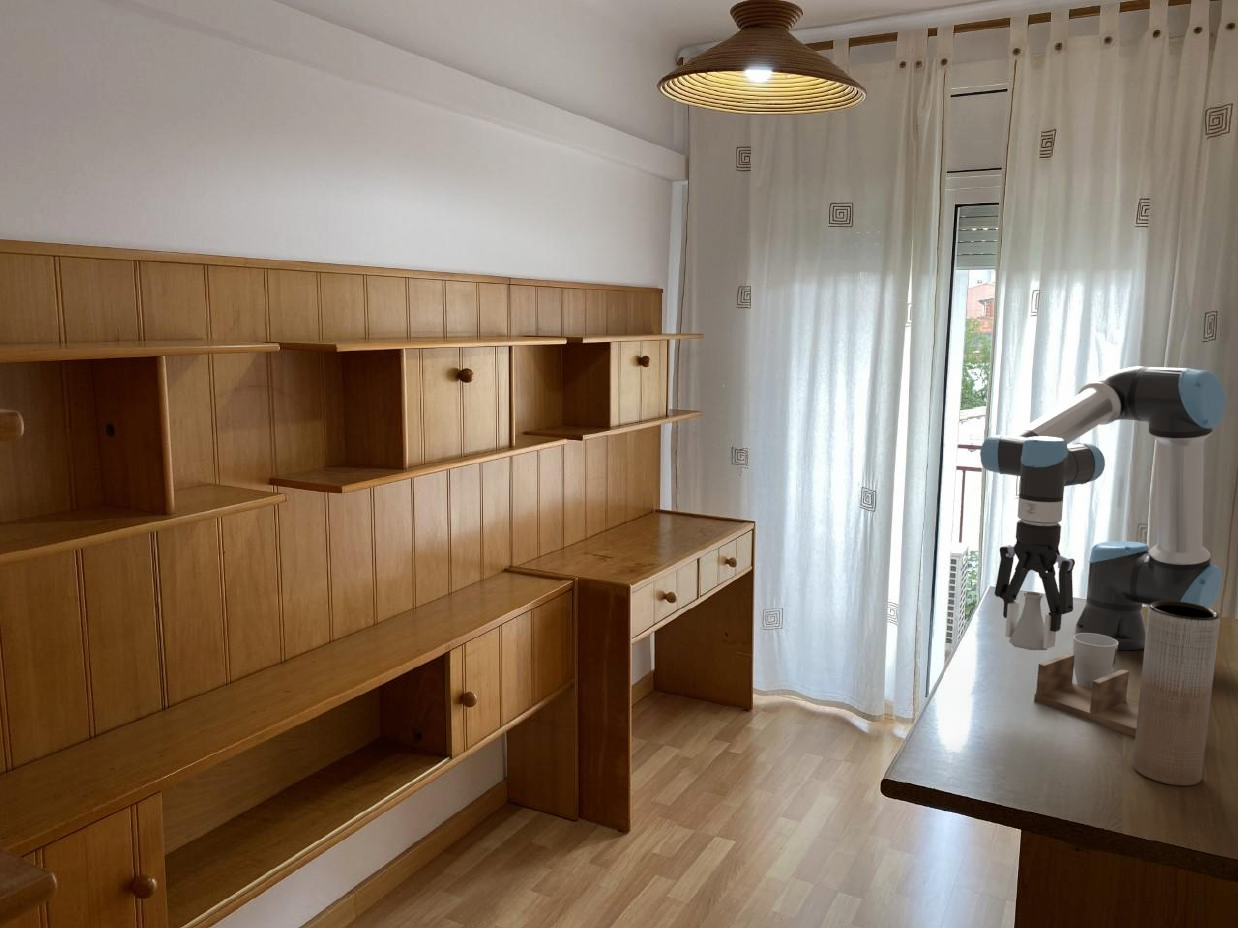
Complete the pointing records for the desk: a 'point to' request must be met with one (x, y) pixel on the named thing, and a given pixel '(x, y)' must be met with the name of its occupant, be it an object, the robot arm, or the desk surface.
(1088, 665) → the cup
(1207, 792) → the desk surface
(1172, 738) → the vase
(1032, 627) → the flask
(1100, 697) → the rack
